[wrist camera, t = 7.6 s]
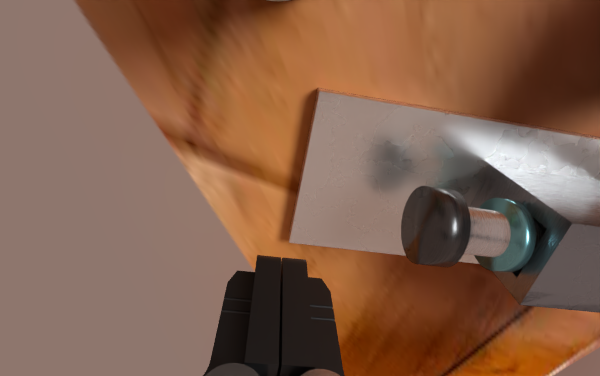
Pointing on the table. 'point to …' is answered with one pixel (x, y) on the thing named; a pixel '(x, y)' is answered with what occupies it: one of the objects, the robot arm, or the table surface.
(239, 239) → the table surface
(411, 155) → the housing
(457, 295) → the table surface
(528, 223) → the shaft
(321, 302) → the robot arm
